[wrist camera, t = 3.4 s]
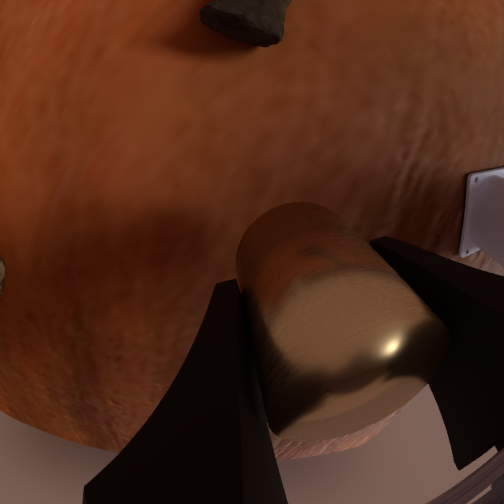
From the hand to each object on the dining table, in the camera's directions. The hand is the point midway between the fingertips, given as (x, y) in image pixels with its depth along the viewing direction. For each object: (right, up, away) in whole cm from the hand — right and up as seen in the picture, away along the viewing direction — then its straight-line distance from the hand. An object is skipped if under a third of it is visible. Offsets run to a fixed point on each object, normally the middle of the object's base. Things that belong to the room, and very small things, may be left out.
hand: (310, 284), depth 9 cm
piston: (0, +1, +2) cm, 2 cm away
